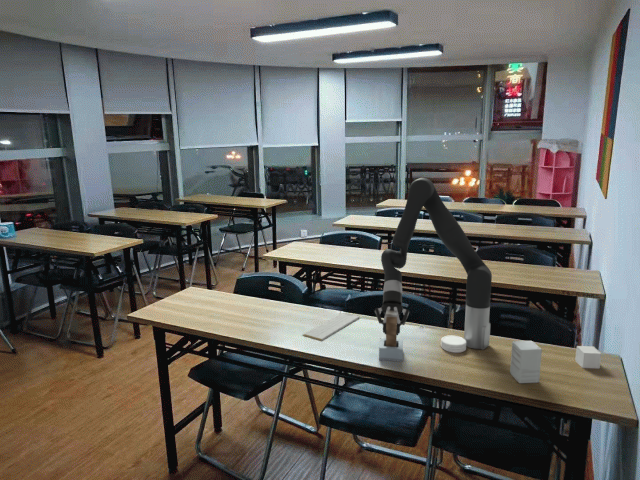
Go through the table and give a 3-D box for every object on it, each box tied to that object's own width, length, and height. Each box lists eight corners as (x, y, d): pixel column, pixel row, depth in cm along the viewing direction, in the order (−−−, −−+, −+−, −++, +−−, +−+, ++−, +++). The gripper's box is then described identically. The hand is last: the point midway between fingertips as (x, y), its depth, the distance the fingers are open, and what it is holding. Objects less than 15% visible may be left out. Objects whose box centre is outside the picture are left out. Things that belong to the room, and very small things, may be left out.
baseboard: (299, 335, 203) (321, 342, 196) (299, 329, 202) (321, 335, 195) (338, 314, 227) (359, 319, 220) (338, 308, 227) (359, 313, 220)
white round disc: (442, 352, 184) (442, 344, 183) (439, 342, 193) (439, 334, 192) (468, 354, 182) (468, 345, 181) (464, 343, 192) (464, 335, 191)
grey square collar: (402, 351, 185) (402, 339, 184) (402, 361, 176) (402, 349, 175) (380, 349, 186) (380, 338, 185) (378, 359, 178) (379, 347, 177)
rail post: (396, 346, 182) (397, 310, 179) (396, 351, 178) (397, 314, 175) (385, 345, 183) (386, 310, 180) (385, 350, 179) (386, 314, 176)
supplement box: (529, 372, 166) (532, 340, 164) (539, 383, 159) (542, 349, 157) (509, 373, 166) (511, 340, 164) (518, 383, 159) (521, 349, 156)
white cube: (575, 360, 175) (576, 345, 174) (591, 361, 174) (593, 346, 173) (582, 368, 169) (584, 353, 168) (599, 368, 169) (601, 353, 167)
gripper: (374, 288, 185) (372, 329, 175) (410, 290, 182) (410, 331, 173) (375, 297, 191) (373, 336, 182) (410, 298, 188) (409, 338, 179)
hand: (391, 333), depth 177 cm, fingers closed on rail post, 4 cm apart
